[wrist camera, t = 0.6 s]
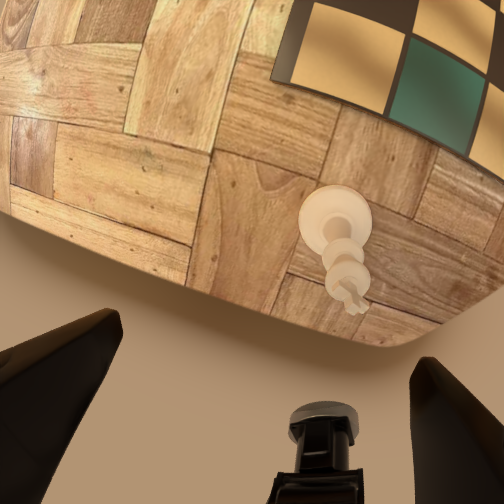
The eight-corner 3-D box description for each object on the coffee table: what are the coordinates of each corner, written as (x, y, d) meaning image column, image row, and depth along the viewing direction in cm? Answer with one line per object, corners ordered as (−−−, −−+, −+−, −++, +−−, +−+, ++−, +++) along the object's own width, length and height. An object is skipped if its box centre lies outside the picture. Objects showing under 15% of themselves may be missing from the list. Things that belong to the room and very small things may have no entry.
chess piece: (339, 268, 21) (351, 373, 12) (283, 226, 21) (261, 316, 12) (385, 216, 19) (438, 299, 10) (329, 169, 19) (349, 219, 10)
